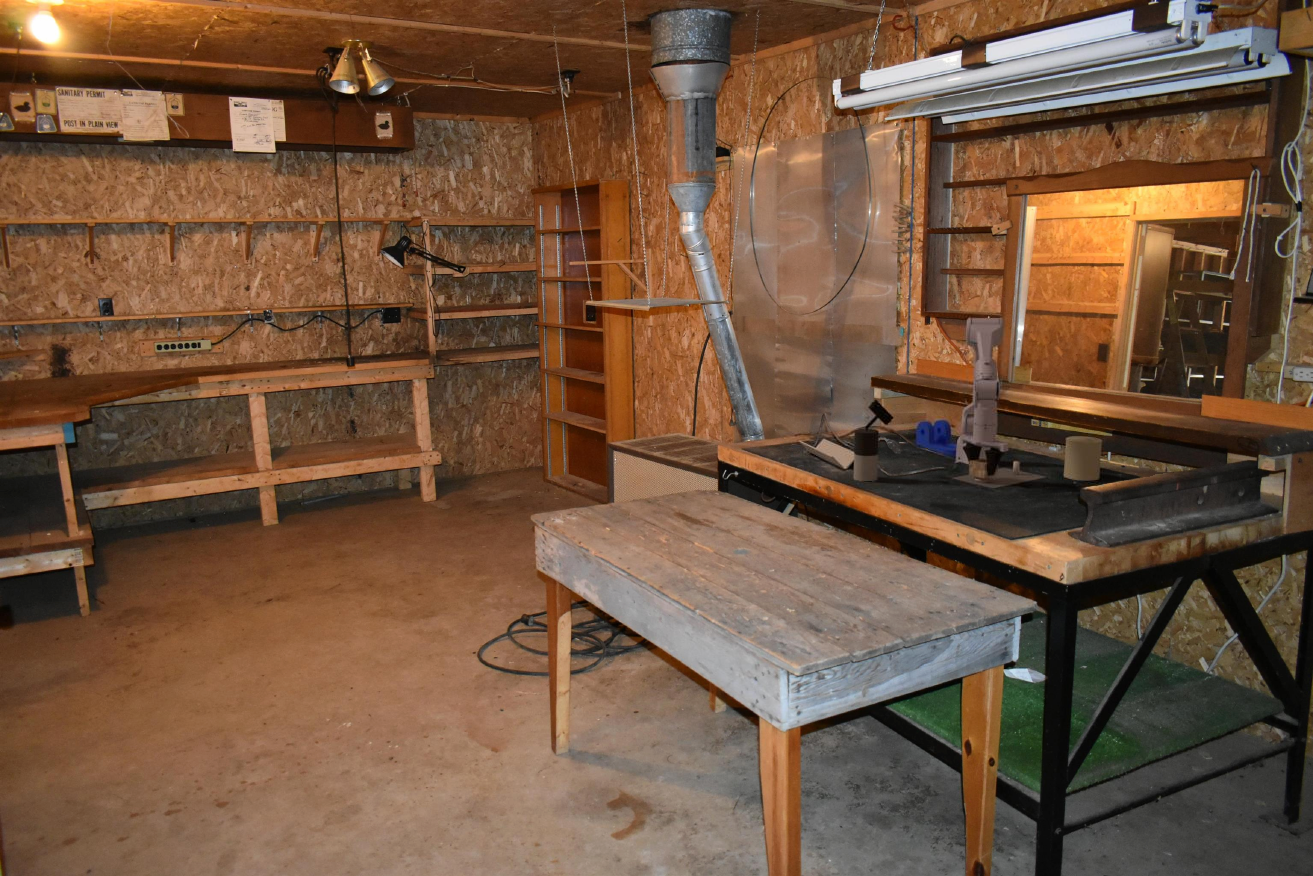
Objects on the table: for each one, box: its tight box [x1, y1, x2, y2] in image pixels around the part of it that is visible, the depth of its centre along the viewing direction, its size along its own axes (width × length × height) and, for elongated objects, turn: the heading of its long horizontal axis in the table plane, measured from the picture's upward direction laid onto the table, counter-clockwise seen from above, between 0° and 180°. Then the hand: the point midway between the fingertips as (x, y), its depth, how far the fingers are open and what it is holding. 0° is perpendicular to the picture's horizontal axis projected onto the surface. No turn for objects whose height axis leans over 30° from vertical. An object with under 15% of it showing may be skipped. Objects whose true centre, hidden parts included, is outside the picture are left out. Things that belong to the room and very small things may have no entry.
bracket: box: [915, 419, 957, 457], centre depth 295 cm, size 18×8×9 cm, turn 18°
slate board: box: [951, 460, 1046, 493], centre depth 255 cm, size 14×22×5 cm, turn 121°
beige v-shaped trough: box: [798, 438, 854, 470], centre depth 284 cm, size 12×25×6 cm
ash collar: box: [968, 459, 999, 479], centre depth 251 cm, size 5×5×4 cm
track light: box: [853, 399, 894, 482], centre depth 259 cm, size 6×17×20 cm
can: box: [1063, 435, 1103, 482], centre depth 254 cm, size 9×9×12 cm
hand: (982, 473), depth 251 cm, fingers closed on ash collar, 5 cm apart
